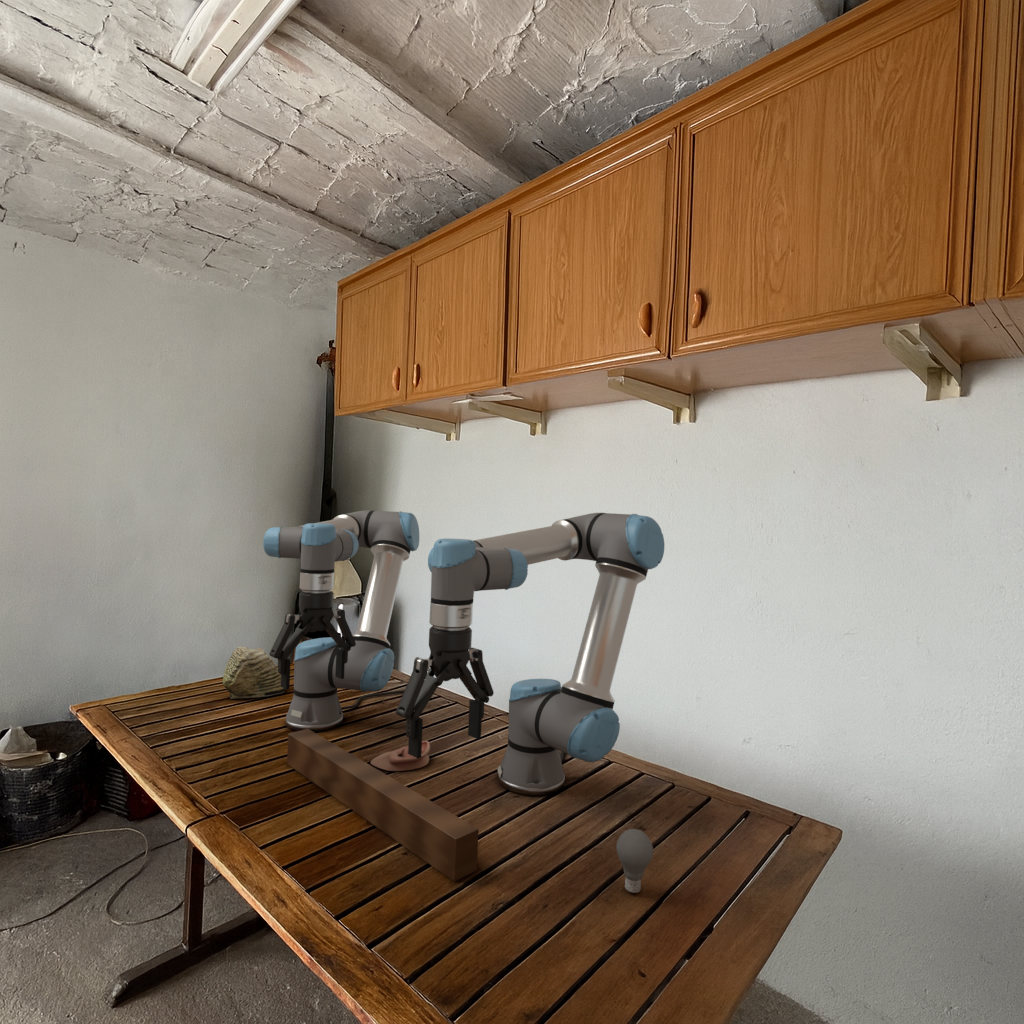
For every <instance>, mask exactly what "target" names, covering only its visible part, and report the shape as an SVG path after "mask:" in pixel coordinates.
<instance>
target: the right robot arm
mask: <svg viewBox="0 0 1024 1024" xmlns="http://www.w3.org/2000/svg"><path fill="white" fill-rule="evenodd" d="M664 554H665V538H664V534H663V532H662V528H661V527H660V524H659V523H658V522H657V521H656V520H655V519H654V518H653V517H650V516H647V515H641V514H637V513H631V514H628V513H627V514H626V513H610V512H593V513H587V514H581V515H577V516H573V517H569V518H568V517H567V518H564V519H558V520H555V521H554V522H553V523H552V524H551V525H549V526H544V527H539V528H538V527H537V528H534V529H528V530H527V529H526V530H522V531H517V532H511V533H507V534H501V535H495V536H490V537H489V536H488V537H483V538H479V539H478V538H477V539H474V540H472V539H468V538H438V539H437V540H436V541H435V542H434V543H433V547H432V548H431V549H430V551H429V553H428V557H427V566H428V569H429V571H430V573H431V579H430V603H429V604H430V605H429V619H428V620H429V621H428V622H429V624H430V627H429V629H428V647H429V652H430V654H429V657H428V658H421V657H419V656H416V657H415V658H414V660H413V668H412V672H411V674H410V676H409V679H408V681H407V684H406V686H405V689H404V690H405V691H404V693H402V696H401V698H400V701H399V703H398V706H397V707H396V710H395V713H396V715H397V716H400V717H402V718H404V719H405V736H406V737H407V738H408V745H407V746H408V754H410V755H412V756H414V757H416V758H421V752H422V741H423V728H424V727H423V725H424V724H423V723H424V719H423V718H421V717H420V716H421V715H422V714H423V711H424V710H425V708H426V707H427V705H428V703H429V702H430V701H431V698H432V697H433V695H435V692H436V691H437V689H438V687H440V686H442V684H443V683H444V682H449V681H451V680H458V679H459V680H460V681H461V683H462V684H463V685H464V687H465V688H466V689H467V691H468V692H469V694H470V696H471V697H472V698H473V699H469V701H468V702H469V704H468V707H469V708H468V724H467V725H468V727H467V736H470V737H472V738H474V739H476V740H480V739H482V724H483V723H482V719H483V718H484V716H485V704H487V703H489V702H490V697H493V696H494V693H495V692H494V689H493V686H492V684H491V683H492V682H491V681H490V678H489V674H488V672H487V668H486V666H485V663H484V659H483V658H484V657H483V656H484V654H483V650H482V649H479V648H476V647H472V641H473V640H472V638H473V629H472V628H471V627H470V626H472V624H473V614H474V613H473V611H474V610H473V609H474V596H475V592H481V591H497V590H505V591H506V590H509V589H515V588H519V587H521V586H522V585H523V584H524V583H525V582H526V580H527V577H528V573H529V571H528V570H529V569H528V568H529V566H530V565H533V564H539V563H541V562H542V563H543V562H546V561H547V562H548V561H551V560H555V559H559V560H560V561H564V562H565V561H571V560H584V561H585V560H586V561H592V562H595V563H594V566H595V568H596V570H597V571H598V574H599V576H598V579H597V584H596V586H595V590H594V594H593V597H592V601H591V604H590V609H589V612H588V615H587V616H588V617H587V620H586V624H585V627H584V631H583V635H582V639H581V643H580V644H579V649H578V653H577V656H576V660H575V665H574V669H573V672H572V676H571V678H570V679H569V680H568V681H566V682H565V683H563V684H562V683H561V682H560V681H559V680H557V679H553V678H528V679H522V680H519V681H516V682H515V683H513V684H512V686H511V687H510V693H509V698H508V722H507V723H508V726H507V729H508V730H507V746H506V750H505V753H504V755H503V758H502V760H501V763H500V764H499V765H498V767H497V774H498V776H497V777H498V778H497V779H498V783H499V785H500V786H501V787H503V788H504V789H505V790H508V791H510V792H512V793H515V794H519V795H522V796H523V795H524V796H535V797H536V796H538V797H539V796H548V795H551V794H555V793H556V792H559V791H561V790H562V789H563V788H564V786H565V782H566V773H565V770H564V768H563V763H562V762H563V761H564V758H565V755H569V756H570V757H571V758H572V759H577V760H580V761H584V762H586V763H595V762H599V761H600V760H602V759H603V758H605V756H607V755H608V754H609V753H610V752H611V751H612V749H613V748H614V746H615V744H616V743H617V740H618V737H619V734H620V728H621V724H620V722H619V721H620V717H619V715H618V714H617V712H615V710H614V705H615V701H616V700H615V698H614V697H613V695H612V693H611V688H612V685H613V680H614V677H615V673H616V668H617V665H618V661H619V657H620V653H621V650H622V645H623V641H624V638H625V634H626V629H627V626H628V622H629V618H630V615H631V610H632V607H633V602H634V598H635V594H636V592H637V591H636V590H637V586H638V585H639V584H640V583H642V582H644V581H645V580H646V579H647V576H648V572H649V570H653V569H655V568H657V567H658V566H659V565H660V564H661V562H662V561H663V558H664ZM468 664H470V667H471V669H472V670H470V668H469V667H468ZM471 671H472V672H471ZM473 675H474V677H473Z"/></svg>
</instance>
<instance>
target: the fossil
mask: <svg viewBox="0 0 1024 1024" xmlns="http://www.w3.org/2000/svg"><path fill="white" fill-rule="evenodd" d="M222 676H223V677H222V685H223V687H224V688H225V690H226V691H228V693H229V698H230V699H250V698H264V697H271V696H275V695H281V694H284V693H285V691H286V690H287V689H284V688H282V687H281V674H279V673H278V667H277V665H276V663H275V662H274V660H273V659H272V657H270V655H268V654H267V653H266V652H265V650H264V649H263V648H260V647H258V648H251V647H247V646H246V647H245V646H238V647H237V648H236V649H235V650H233V651H232V653H231V656H230V657H229V659H228V660H227V663H226V666H225V668H224V671H223V675H222Z"/></svg>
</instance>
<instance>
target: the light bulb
mask: <svg viewBox="0 0 1024 1024" xmlns="http://www.w3.org/2000/svg"><path fill="white" fill-rule="evenodd" d="M615 849H616V854H617V857H618V859H619V861H620V863H621V865H622V867H623V873H624V874H623V875H624V876H625V878H624V888H625V890H627V891H628V892H630V893H634V894H635V893H639V892H640V891H641V889H642V887H641V886H642V879H643V877H644V875H645V871H646V868H647V867H648V866H649V864H650V863H651V861H652V859H653V855H654V847H653V843H652V841H651V838H649V836H648V835H647V834H646V833H645V832H643V831H642V830H641V829H636V828H629V829H627V830H625V831H623V832H622V833H621V834H620V835H619V837H618V839H617V841H616V847H615Z"/></svg>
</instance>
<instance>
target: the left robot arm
mask: <svg viewBox="0 0 1024 1024" xmlns="http://www.w3.org/2000/svg"><path fill="white" fill-rule="evenodd" d="M262 542H263V543H262V547H263V551H264V553H265V554H266V555H267V556H268V557H272V558H278V559H298V560H299V559H300V570H299V571H300V573H299V589H300V590H301V591H300V592H299V595H298V597H299V598H298V609H299V611H298V613H297V614H293V613H289V612H287V613H285V615H284V621H283V625H282V627H281V629H280V631H279V632H278V635H277V637H276V639H275V641H274V642H273V645H272V647H271V649H270V651H269V655H268V656H269V657H271V658H274V659H277V668H278V673H279V674H281V687H282V688H284V689H286V690H290V684H291V682H290V680H291V659H290V658H289V656H290V655H291V654H292V652H293V651H294V650H295V652H294V653H295V654H294V659H293V661H294V672H293V695H292V696H293V697H292V699H291V702H290V704H289V708H288V711H287V713H286V715H285V726H286V728H287V729H289V730H291V731H294V732H297V731H301V730H305V729H309V730H311V731H313V732H315V733H316V732H317V733H318V732H325V731H329V730H332V729H335V728H337V727H339V726H340V725H342V723H343V722H344V713H343V711H344V710H350V709H354V708H356V707H357V706H358V705H359V703H360V701H362V700H364V699H368V698H373V697H380V696H388V695H394V694H395V695H396V694H403V693H404V691H405V689H402V690H393V691H392V690H391V691H385V692H379V691H381V690H383V689H384V688H385V686H387V684H388V683H389V681H390V678H391V677H392V673H393V671H394V666H395V662H394V661H395V652H394V651H393V650H392V649H391V643H390V641H389V639H387V636H388V632H389V628H390V622H391V619H392V614H393V610H394V604H395V601H396V600H395V599H396V595H397V590H398V585H399V581H400V578H401V577H400V576H401V574H402V573H401V572H402V567H403V562H406V561H407V560H408V559H409V558H410V554H411V552H415V551H418V548H419V546H420V526H419V522H418V519H417V516H415V514H413V513H412V512H405V511H401V510H399V511H390V510H389V511H387V510H371V509H367V510H358V511H352V512H348V513H343V514H340V515H339V514H338V515H337V516H335V517H334V518H332V519H330V520H325V521H320V522H314V523H312V522H311V523H309V522H307V523H305V524H302V525H297V526H291V527H283V526H277V527H276V526H275V527H274V526H273V527H270V528H268V529H267V530H266V532H265V533H264V536H263V541H262ZM359 548H365V549H370V552H371V553H372V555H373V560H372V565H371V568H370V573H369V577H368V581H367V585H366V589H365V593H364V598H363V601H362V605H361V611H360V613H359V618H358V622H357V626H356V631H355V633H352V631H351V629H350V626H349V623H348V621H347V619H346V611H345V609H343V608H338V607H337V608H335V610H333V607H334V592H333V591H332V590H333V589H334V588H335V564H336V563H337V562H344V561H348V560H350V559H352V558H353V557H354V556H355V555H356V554H357V553H358V550H359ZM333 618H334V619H335V621H336V623H337V625H338V627H339V630H340V633H341V635H342V636H341V635H340V633H339V632H338V631H337V629H336V627H335V626H334V625H333V624H332V622H331V621H332V620H333ZM297 622H299V624H298V625H297V626H296V628H295V631H294V632H293V633H292V631H293V629H294V627H295V625H296V624H297ZM324 631H325V632H326V633H327V634H328V635H329V637H318V638H313V639H307V640H304V641H302V639H303V638H304V637H305V636H307V634H308V633H316V632H324ZM301 641H302V642H301ZM338 689H342V690H351V691H361V692H365V693H366V692H377V693H370V694H366V695H363V696H359V697H358V698H357V700H355V703H354V704H352V705H344V706H341V702H340V699H339V695H338Z"/></svg>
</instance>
